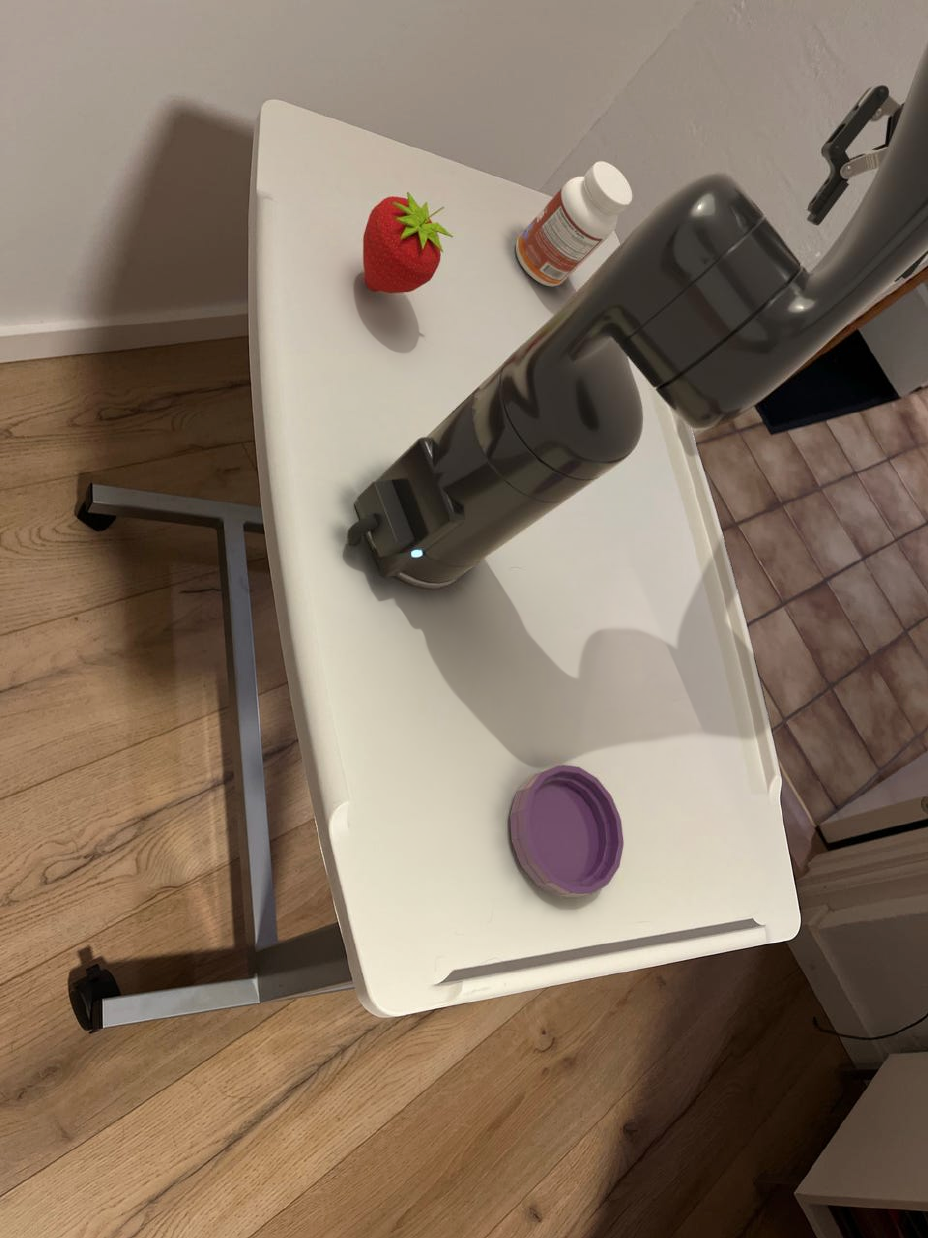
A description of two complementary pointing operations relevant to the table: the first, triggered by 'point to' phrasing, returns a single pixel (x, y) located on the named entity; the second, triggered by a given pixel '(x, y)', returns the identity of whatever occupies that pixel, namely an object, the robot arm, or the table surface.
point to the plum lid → (566, 831)
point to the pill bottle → (573, 224)
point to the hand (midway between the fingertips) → (851, 251)
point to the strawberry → (400, 246)
